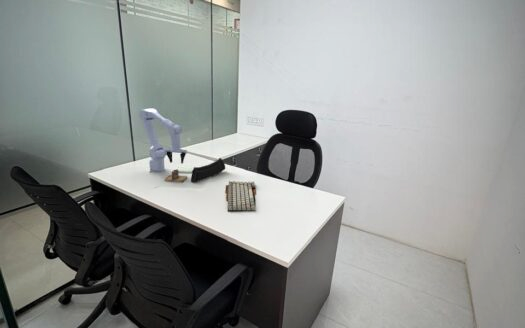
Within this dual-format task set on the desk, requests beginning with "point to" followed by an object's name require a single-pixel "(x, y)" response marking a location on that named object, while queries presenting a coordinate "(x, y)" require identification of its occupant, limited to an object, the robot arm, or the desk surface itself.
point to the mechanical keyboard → (240, 196)
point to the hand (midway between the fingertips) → (176, 162)
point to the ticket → (184, 169)
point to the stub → (175, 177)
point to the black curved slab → (207, 170)
